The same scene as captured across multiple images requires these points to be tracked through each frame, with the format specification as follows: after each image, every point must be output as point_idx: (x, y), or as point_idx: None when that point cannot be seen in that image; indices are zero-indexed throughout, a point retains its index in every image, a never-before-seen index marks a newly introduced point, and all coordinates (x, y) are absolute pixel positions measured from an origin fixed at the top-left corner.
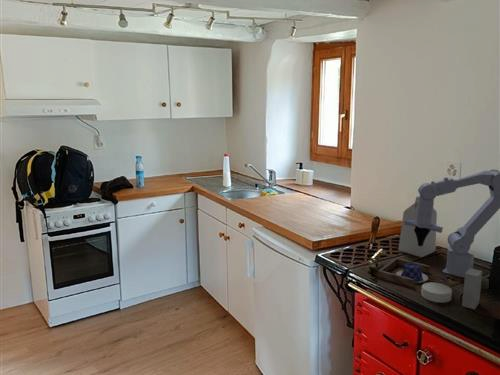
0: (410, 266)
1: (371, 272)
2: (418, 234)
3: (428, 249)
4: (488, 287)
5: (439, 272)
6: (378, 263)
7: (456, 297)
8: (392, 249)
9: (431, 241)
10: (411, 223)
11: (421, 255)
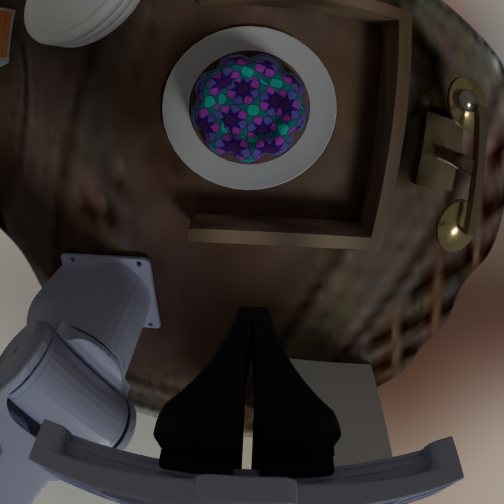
0: (261, 101)
1: (434, 68)
2: (273, 386)
3: None
4: (4, 223)
5: (160, 253)
6: (436, 175)
7: (33, 50)
8: (390, 358)
9: None
10: (393, 487)
11: None
